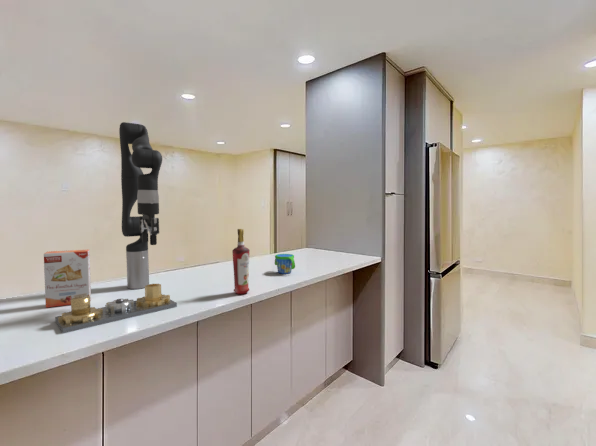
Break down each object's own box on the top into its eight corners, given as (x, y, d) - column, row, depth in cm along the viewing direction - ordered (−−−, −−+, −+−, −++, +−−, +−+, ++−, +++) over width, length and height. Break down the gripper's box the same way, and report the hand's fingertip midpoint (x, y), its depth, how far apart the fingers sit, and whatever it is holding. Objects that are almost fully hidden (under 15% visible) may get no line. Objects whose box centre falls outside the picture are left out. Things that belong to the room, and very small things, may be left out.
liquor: (243, 289, 143) (242, 228, 141) (253, 293, 138) (252, 229, 136) (229, 293, 138) (228, 229, 136) (239, 296, 133) (238, 230, 131)
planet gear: (131, 302, 120) (130, 285, 120) (163, 295, 129) (162, 280, 128) (142, 309, 112) (141, 291, 111) (175, 302, 120) (175, 285, 120)
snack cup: (300, 274, 175) (300, 255, 175) (284, 276, 169) (284, 257, 169) (284, 269, 188) (284, 252, 187) (269, 271, 182) (269, 254, 181)
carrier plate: (55, 321, 105) (54, 297, 104) (162, 299, 129) (161, 279, 129) (62, 333, 95) (61, 307, 94) (176, 306, 119) (176, 285, 119)
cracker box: (45, 308, 118) (42, 253, 117) (49, 304, 123) (46, 251, 122) (89, 303, 124) (87, 250, 123) (91, 299, 130) (89, 248, 129)
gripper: (131, 201, 124) (132, 242, 125) (144, 202, 114) (145, 246, 115) (151, 201, 129) (152, 240, 131) (165, 202, 119) (166, 244, 121)
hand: (149, 243), depth 123 cm, fingers open, 8 cm apart
